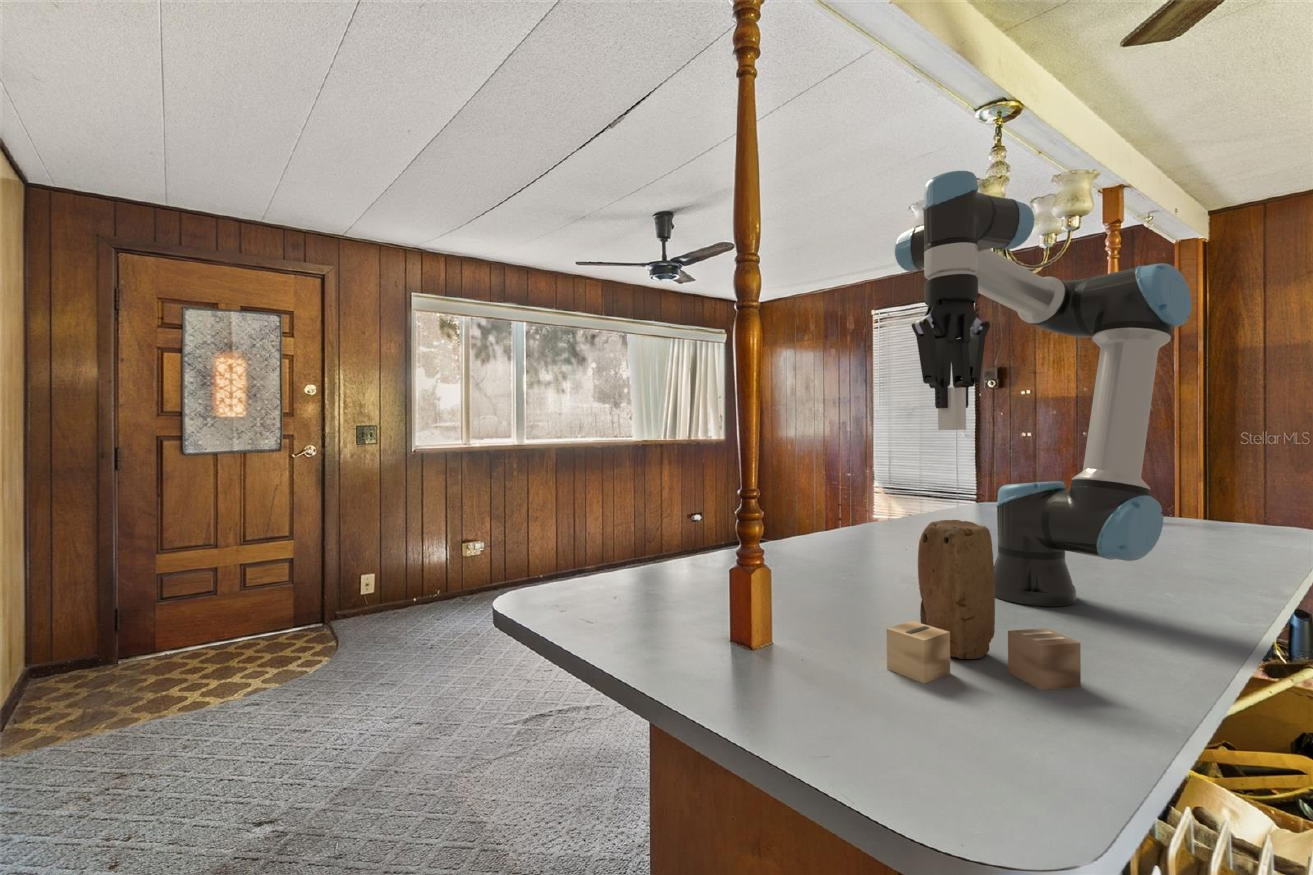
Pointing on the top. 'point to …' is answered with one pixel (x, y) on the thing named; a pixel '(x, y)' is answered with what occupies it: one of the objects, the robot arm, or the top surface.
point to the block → (958, 584)
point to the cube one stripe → (918, 651)
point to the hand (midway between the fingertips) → (952, 429)
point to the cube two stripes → (1044, 658)
